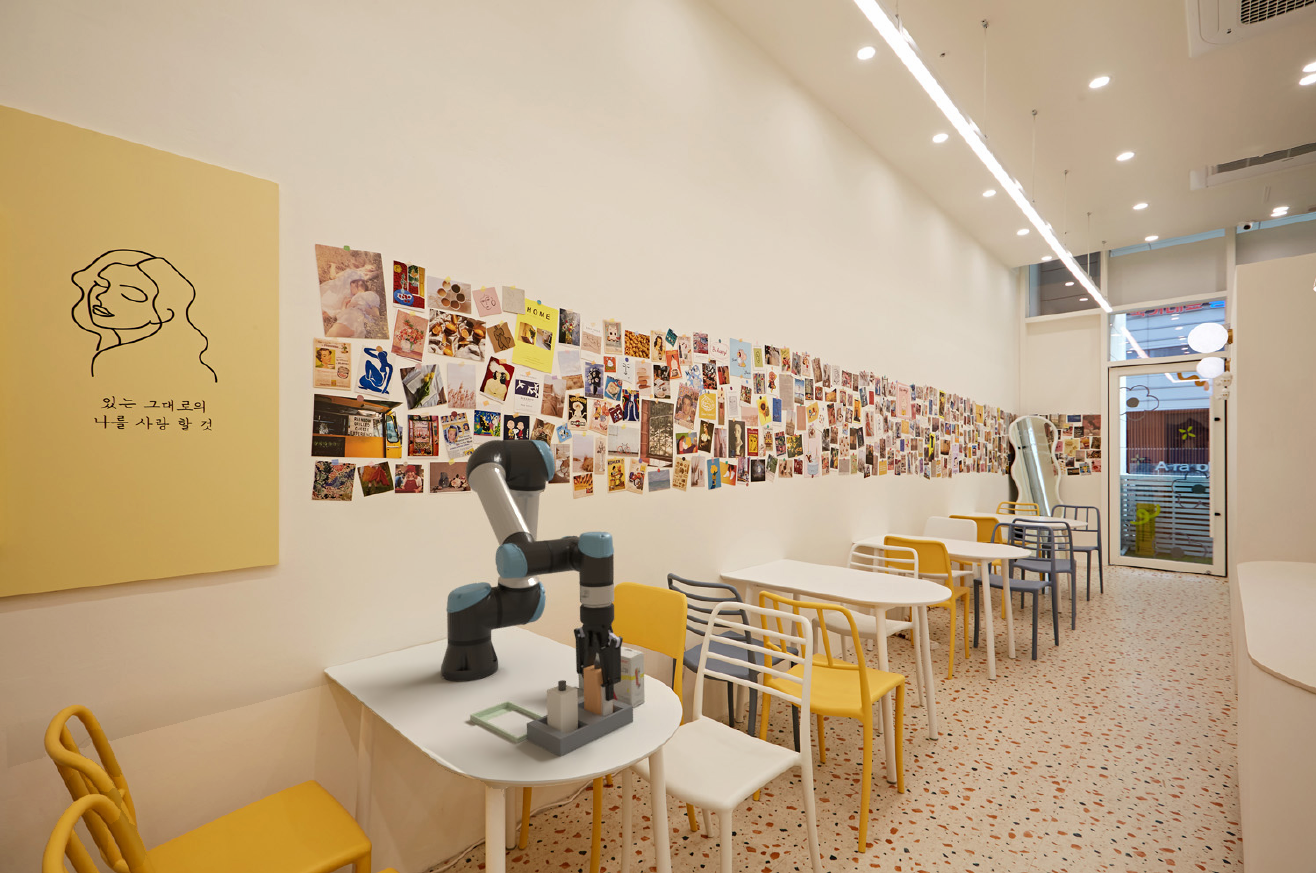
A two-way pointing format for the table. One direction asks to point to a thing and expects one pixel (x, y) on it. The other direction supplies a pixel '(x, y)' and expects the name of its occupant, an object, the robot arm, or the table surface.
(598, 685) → the orange knobbed block
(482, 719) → the tray
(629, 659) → the ink box
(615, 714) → the grey two-slot holder
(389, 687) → the table surface
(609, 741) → the table surface
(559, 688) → the white knobbed peg block
